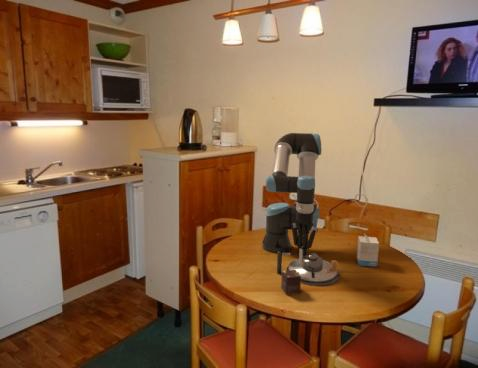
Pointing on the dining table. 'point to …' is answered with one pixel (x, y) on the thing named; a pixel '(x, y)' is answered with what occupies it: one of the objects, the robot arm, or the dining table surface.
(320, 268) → the cover
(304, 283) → the plinth
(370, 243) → the ink box
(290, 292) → the box
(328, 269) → the turntable
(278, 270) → the indicator post
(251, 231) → the dining table surface
